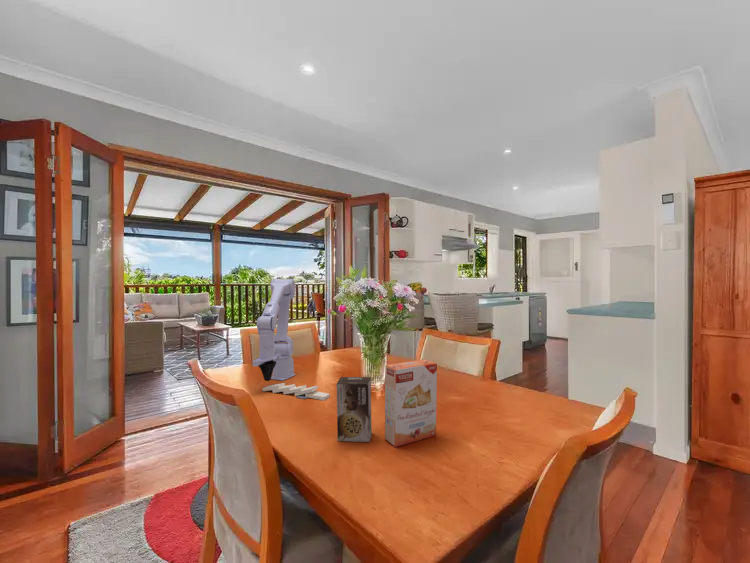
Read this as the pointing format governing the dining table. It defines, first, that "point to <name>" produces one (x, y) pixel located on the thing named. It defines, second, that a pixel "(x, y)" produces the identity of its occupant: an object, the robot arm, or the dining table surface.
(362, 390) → the dark brown upright box
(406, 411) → the cracker box
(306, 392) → the domino
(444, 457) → the dining table surface
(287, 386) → the domino
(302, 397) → the plate
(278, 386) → the domino
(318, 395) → the domino
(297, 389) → the domino
